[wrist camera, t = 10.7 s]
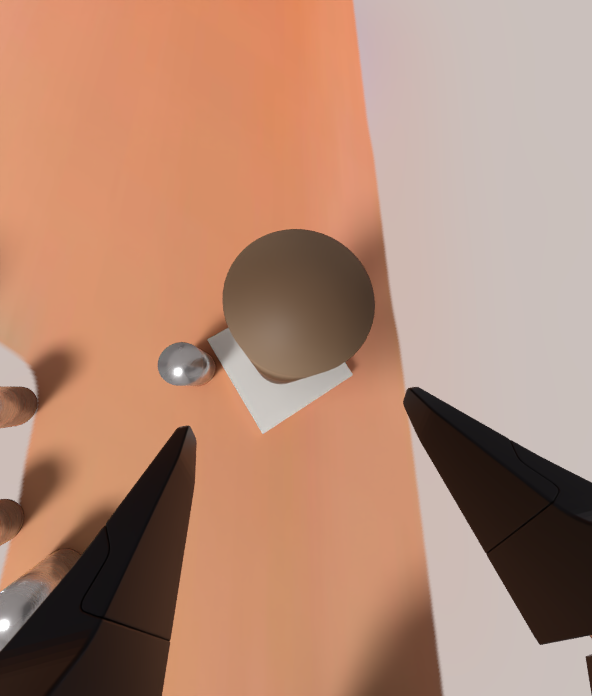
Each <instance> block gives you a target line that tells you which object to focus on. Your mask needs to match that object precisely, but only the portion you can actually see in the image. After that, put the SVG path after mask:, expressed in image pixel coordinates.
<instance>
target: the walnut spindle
mask: <svg viewBox="0 0 592 696" xmlns="http://www.w3.org/2000/svg"><path fill="white" fill-rule="evenodd" d="M374 310H375V301H374V293H373V288H372V284H371V281H370V278H369V276H368V274H367V272H366V270H365V268H364V267H363V265H362V264H361V262H360V261H359V260H358V258H357V257H356V256H355V255H354V254H353V253H352V252H351V251H350V250H349V249H348V248H347V247H345V246H344V245H343V244H341V243H340V242H338V241H337V240H335V239H333V238H331V237H329V236H327V235H324V234H322V233H318V232H315V231H310V230H303V229H289V230H282V231H277V232H273V233H270V234H267V235H265V236H263V237H261V238H259V239H257V240H256V241H254V242H252V243H251V244H250V245H249V246H247V247H246V248H245V249H244V250H243V251H242V252H241V253H240V254H239V255H238V256H237V258H236V259H235V261H234V262H233V264H232V265H231V267H230V269H229V272H228V274H227V277H226V280H225V283H224V289H223V311H224V315H225V319H226V323H227V325H228V328H229V330H230V332H231V334H232V336H233V337H234V339H235V341H236V342H237V343H238V345H239V346H240V348H241V349H242V350H243V352H244V353H245V354H246V356H247V357H248V358H249V360H250V361H251V363H252V364H253V365H254V367H255V368H256V369H257V371H258V372H259V373H260V375H261V376H262V377H263V378H264V379H266V380H267V381H269V382H271V383H275V384H287V383H290V382H294V381H297V380H300V379H303V378H307V377H310V376H313V375H317V374H320V373H323V372H326V371H329V370H331V369H334V368H336V367H338V366H340V365H341V364H343V363H344V362H346V361H347V360H348V359H350V358H351V357H352V356H353V355H354V354H355V353H356V352H357V351H358V350H359V349H360V347H361V346H362V344H363V343H364V342H365V340H366V338H367V336H368V334H369V332H370V329H371V326H372V323H373V318H374Z"/></svg>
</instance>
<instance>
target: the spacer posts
mask: <svg viewBox="0 0 592 696" xmlns="http://www.w3.org/2000/svg"><path fill="white" fill-rule="evenodd" d="M215 369H216V366H215V362H214V360H213V358H212V357H211V356H210V355H209V354H208V353H206V352H204V351H202V350H201V349H199V348H197V347H195V346H194V345H192V344H189V343H185V342H179V343H175V344H172V345H170V346H168V347H167V348H166V349H165V350H164V351H163V352H162V353H161V355H160V357H159V360H158V370H159V373H160V375H161V377H162V378H163V379H164V380H165V381H166V382H168V383H170V384H172V385H180V386H201V385H204V384H206V383H208V382H209V381H210V380H211V379H212V377H213V376H214V373H215ZM36 409H37V398H36V395H35V394H34V393H33V392H32V391H31V390H30V389H28V388H25V387H0V428H5V427H12V426H18V425H21V424H23V423H25V422H27V421H28V420H29V419H30V418H31V417H32V416H33V415H34V413H35V411H36ZM23 520H24V514H23V510H22V508H21V506H20V505H19V504H18V503H17V502H15V501H13V500H10V499H1V500H0V546H1V545H2V544H4V543H6V542H8V541H9V540H11V539H12V538H13V537H15V535H16V534H17V533H18V532H19V530H20V529H21V527H22V524H23ZM80 557H81V555H80V554H79V553H78V552H76V551H74V550H72V549H60V550H57V551H55V552H53V553H52V554H50V555H49V556H48V557H46V558H45V559H44V560H42V561H41V562H40V563H38V564H37V565H36V566H34V567H33V568H32V569H30V570H29V571H28V572H26V573H25V574H24V575H22V576H21V577H20V578H18V579H17V580H16V581H14V582H13V583H12V584H11V585H9V586H8V587H7V588H5V589H4V590H3V591H1V592H0V651H1V650H2V649H3V648H4V647H5V645H6V644H7V643H8V642H9V641H10V640H11V639H12V637H13V636H14V635H15V634H16V633H17V632H18V630H19V629H20V628H21V627H22V626H23V625H24V623H25V622H26V621H27V620H28V619H29V617H30V616H31V615H32V614H33V613H34V612H35V610H36V609H37V608H38V607H39V606H40V605H41V603H42V602H43V601H44V600H45V599H46V598H47V596H48V595H49V594H50V593H51V592H52V590H53V589H54V588H55V587H56V586H57V585H58V583H59V582H60V581H61V580H62V579H63V577H64V576H65V575H66V574H67V573H68V571H69V570H70V569H71V568H72V567H73V565H74V564H75V563H76V562H77V560H78V559H79V558H80Z"/></svg>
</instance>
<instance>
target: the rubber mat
mask: <svg viewBox="0 0 592 696" xmlns="http://www.w3.org/2000/svg"><path fill="white" fill-rule="evenodd" d="M207 340H208V342H209V344H210V345H211V347H212V349H213V350H214V352H215V354H216V355H217V357H218V359H219V361H220V362H221V364H222V366H223V367H224V369H225V371H226V372H227V374H228V376H229V378H230V379H231V381H232V383H233V384H234V386H235V388H236V389H237V391H238V393H239V395H240V396H241V398H242V400H243V401H244V403H245V405H246V407H247V408H248V410H249V412H250V413H251V415H252V417H253V418H254V420H255V422H256V424H257V425H258V427H259V429H260V430H261V432H262V434H264V433H265V432H267V431H268V430H270V429H271V428H273V427H274V426H276V425H277V424H279V423H280V422H282V421H283V420H285V419H287V418H288V417H290V416H291V415H293V414H294V413H296V412H297V411H299V410H300V409H302V408H303V407H305V406H306V405H308V404H309V403H311V402H312V401H314V400H316V399H317V398H319V397H320V396H322V395H323V394H325V393H326V392H328V391H329V390H331V389H332V388H334V387H335V386H337V385H338V384H340V383H341V382H343V381H345V380H346V379H348V378H349V377H351V376H352V375H353V374H352V373H351V371H350V370H349V368H348V366H347V365H346V363H345V362H344V363H343V364H341V365H340V366H338V367H336V368H334V369H331V370H329V371H326V372H323V373H320V374H317V375H313V376H310V377H307V378H303V379H300V380H297V381H294V382H290V383H287V384H275V383H271V382H269V381H267V380H266V379H264V378H263V377H262V376H261V375H260V373H259V372H258V371H257V369H256V368H255V367H254V365H253V364H252V363H251V361H250V360H249V358H248V357H247V356H246V354H245V353H244V352H243V350H242V349H241V348H240V346H239V345H238V343H237V342H236V341H235V339H234V337H233V336H232V334H231V332H230V330H229V328H227V329H225V330H223V331H221V332H220V333H218V334H216V335H214V336H212V337H211V338H209V339H207Z"/></svg>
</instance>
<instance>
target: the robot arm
mask: <svg viewBox="0 0 592 696" xmlns="http://www.w3.org/2000/svg"><path fill="white" fill-rule="evenodd" d="M403 404H404V407H405V410H406V412H407V414H408V416H409V418H410V421H411V423H412V425H413V427H414V429H415V432H416V433H417V435H418V438H419V440H420V441H421V443H422V445H423V447H424V448H425V450H426V452H427V454H428V455H429V457H430V459H431V460H432V462H433V464H434V465H435V467H436V469H437V471H438V472H439V474H440V476H441V477H442V479H443V481H444V483H445V484H446V486H447V488H448V489H449V491H450V493H451V495H452V496H453V498H454V500H455V501H456V503H457V505H458V507H459V508H460V510H461V512H462V513H463V515H464V516H465V519H466V520H467V522H468V524H469V525H470V527H471V529H472V530H473V532H474V534H475V536H476V537H477V539H478V540H479V542H480V544H481V546H482V548H483V549H484V551H485V553H487V556H488V558H489V560H490V562H491V563H492V565H493V566H494V568H495V570H496V572H497V573H498V575H499V577H500V579H501V580H502V582H503V584H504V585H505V587H506V589H507V591H508V592H509V594H510V596H511V597H512V599H513V601H514V603H515V604H516V606H517V608H518V609H519V611H520V613H521V614H522V616H523V618H524V620H525V621H526V623H527V625H528V626H529V628H530V630H531V632H532V633H533V635H534V637H535V638H536V639H537V641H538V643H539V644H540V645H543V644H548V643H552V642H558V641H563V640H568V639H574V638H579V637H583V636H590V637H591V638H592V483H591V482H589V481H587V480H585V479H583V478H581V477H580V476H578V475H575V474H574V473H572V472H569V471H568V470H566V469H564V468H562V467H560V466H558V465H556V464H554V463H552V462H550V461H548V460H546V459H544V458H542V457H540V456H538V455H537V454H535V453H533V452H531V451H529V450H528V449H526V448H524V447H522V446H520V445H519V444H517V443H515V442H513V441H511V440H509V439H508V438H506V437H505V436H503V435H501V434H499V433H498V432H496V431H494V430H492V429H491V428H489V427H487V426H485V425H484V424H482V423H480V422H478V421H477V420H475V419H473V418H471V417H470V416H468V415H466V414H464V413H462V412H461V411H459V410H457V409H456V408H454V407H452V406H450V405H449V404H447V403H445V402H443V401H442V400H440V399H438V398H436V397H435V396H433V395H431V394H429V393H428V392H426V391H424V390H422V389H421V388H419V387H412V388H408V389H407V391H406V394H405V397H404V401H403ZM195 466H196V438H195V435H194V433H193V431H192V429H191V427H190V426H182V427H179V428H177V429H176V431H175V432H174V433H173V435H172V436H171V437H170V439H169V440H168V441H167V443H166V444H165V445H164V447H163V448H162V449H161V451H160V452H159V453H158V455H157V456H156V457H155V459H154V460H153V461H152V463H151V464H150V465H149V467H148V468H147V469H146V471H145V472H144V473H143V475H142V476H141V477H140V479H139V480H138V481H137V483H136V484H135V485H134V487H133V488H132V489H131V491H130V492H129V493H128V495H127V496H126V497H125V499H124V500H123V501H122V503H121V504H120V505H119V507H118V508H117V509H116V511H115V512H114V513H113V515H112V516H111V517H110V519H109V520H108V521H107V523H106V526H104V527H103V528H102V529H101V531H100V532H99V533H98V535H97V536H96V537H95V539H94V540H93V541H92V542H91V544H90V545H89V546H88V548H87V549H86V550H85V552H84V553H83V554H82V555H81V557H80V558H79V559H78V560H77V562H76V563H75V564H74V565H73V567H72V568H71V569H70V570H69V571H68V573H67V574H66V575H65V576H64V577H63V579H62V580H61V581H60V582H59V583H58V585H57V586H56V587H55V588H54V589H53V590H52V592H51V593H50V594H49V595H48V596H47V598H46V599H45V600H44V601H43V602H42V603H41V605H40V606H39V607H38V608H37V609H36V610H35V612H34V613H33V614H32V615H31V616H30V617H29V619H28V620H27V621H26V622H25V623H24V625H23V626H22V627H21V628H20V629H19V630H18V632H17V633H16V634H15V635H14V636H13V637H12V639H11V640H10V641H9V642H8V643H7V644H6V645H5V647H4V648H3V649H2V650H1V651H0V696H162V691H163V685H164V678H165V672H166V666H167V659H168V653H169V646H170V639H171V633H172V626H173V620H174V614H175V607H176V601H177V594H178V588H179V581H180V575H181V569H182V562H183V556H184V549H185V543H186V537H187V530H188V524H189V517H190V511H191V505H192V498H193V492H194V484H195ZM586 662H587V668H588V675H589V681H590V687H591V693H592V655H589V656H586Z"/></svg>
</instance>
